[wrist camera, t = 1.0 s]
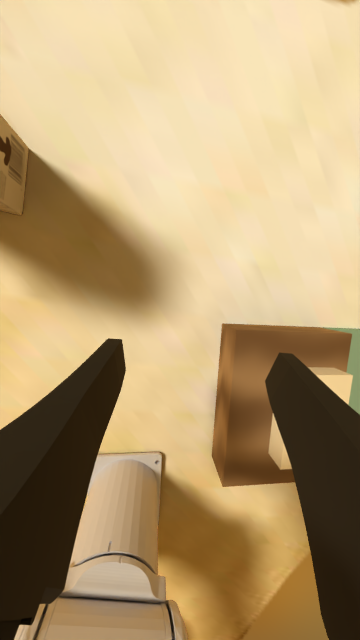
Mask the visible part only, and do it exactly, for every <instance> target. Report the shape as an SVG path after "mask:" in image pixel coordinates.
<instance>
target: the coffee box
mask: <svg viewBox="0 0 360 640" xmlns="http://www.w3.org/2000/svg"><path fill="white" fill-rule="evenodd" d="M28 152H29V149H28V147H27V146H26V144H25V143H24V142H23V141H22V139H21V138H20V137H19V136H18V135H17V134H16V132H15V131H14V130H13V129H12V128H11V126H10V125H9V124H8V123H7V122H6V120H5V119H4V118H3V117H2V116H1V114H0V211H4V212H9V213H13V214H17V215H22V212H23V203H24V193H25V183H26V173H27V162H28Z"/></svg>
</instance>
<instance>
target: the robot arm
mask: <svg viewBox="0 0 360 640" xmlns="http://www.w3.org/2000/svg"><path fill="white" fill-rule="evenodd" d="M125 371H126V367H125V360H124V352H123V344H122V340H121V339H107V340H106V341H105V342H104V343H103V344H102V345H101V346H100V347H99V348H98V349H97V350H96V351H95V352H94V353H93V354H92V355H91V356H90V357H89V358H88V359H87V360H86V361H85V362H84V363H83V364H82V365H81V366H80V367H79V368H77V369H76V370H75V371H74V372H73V373H72V374H71V375H70V376H69V377H68V378H67V379H65V380H64V381H63V382H62V383H61V384H60V385H58V386H57V387H56V388H55V389H54V390H53V391H51V392H50V393H49V394H48V395H47V396H45V397H44V398H43V399H42V400H40V401H39V402H38V403H37V404H35V405H34V406H33V407H31V408H30V409H29V410H27V411H26V412H25V413H23V414H22V415H21V416H19V417H18V418H17V419H15V420H14V421H12V422H11V423H10V424H8V425H7V426H5V427H4V428H2V429H1V430H0V640H188V636H187V631H186V627H185V623H184V621H183V618H182V616H181V614H180V611H179V608H178V606H177V604H176V602H175V601H173V600H166V583H165V577H163V576H159V575H158V525H159V509H160V488H161V468H162V454H161V453H160V452H147V453H123V454H99V455H98V451H99V448H100V445H101V442H102V439H103V437H104V434H105V431H106V429H107V426H108V423H109V421H110V418H111V415H112V413H113V410H114V407H115V405H116V402H117V399H118V396H119V394H120V391H121V387H122V383H123V379H124V375H125ZM265 384H266V389H267V394H268V398H269V402H270V405H271V408H272V411H273V414H274V417H275V420H276V423H277V426H278V429H279V431H280V434H281V437H282V440H283V443H284V445H285V448H286V451H287V454H288V457H289V460H290V464H291V467H292V471H293V475H294V479H295V483H296V487H297V491H298V495H299V499H300V503H301V508H302V512H303V516H304V521H305V526H306V531H307V536H308V541H309V546H310V550H311V555H312V561H313V567H314V573H315V579H316V584H317V590H318V596H319V603H320V610H321V615H322V619H323V622H324V626H325V629H326V632H327V636H328V638H329V640H360V414H358V413H357V412H356V411H355V410H354V409H353V408H351V407H350V406H349V405H348V404H347V403H346V402H345V401H343V400H342V399H341V398H340V397H339V396H338V395H337V394H336V393H334V392H333V391H332V390H331V389H330V388H329V387H328V386H327V385H326V384H325V383H324V382H323V381H322V380H320V379H319V378H318V377H317V376H316V375H315V374H314V373H313V372H312V371H311V370H310V369H309V368H308V367H307V366H306V365H305V364H304V363H302V362H301V361H300V360H299V359H298V358H297V357H296V356H295V355H294V354H292V353H280V352H279V354H278V356H277V358H276V360H275V362H274V364H273V366H272V368H271V370H270V372H269V374H268V376H267V378H266V380H265ZM157 460H158V462H156V461H157ZM87 492H88V498H87V501H86V504H85V507H84V503H85V499H86V496H87ZM83 507H84V510H83ZM82 511H83V513H82ZM81 515H82V516H81Z"/></svg>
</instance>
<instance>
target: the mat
mask: <svg viewBox="0 0 360 640" xmlns="http://www.w3.org/2000/svg"><path fill="white" fill-rule="evenodd" d="M325 329H330V330H336V331H341V332H346V333H351V334H352V339H351V346H350V352H349V359H348V365H347V372H346V373H348V374H351V375H353V379H352V385H351V392H350V398H349V404H348V405H349V406H350V407H351V408H353V409H354V410H355V411H356V412H357V413H358V414H360V329H346V328H325Z"/></svg>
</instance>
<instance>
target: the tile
mask: <svg viewBox="0 0 360 640" xmlns="http://www.w3.org/2000/svg"><path fill="white" fill-rule="evenodd" d="M308 368H309V369H310V370H311V371H312V372H313V373H314V374H315V375H316V376H317V377H318V378H319V379H320V380H322V381H323V382H324V383H325V384H326V385H327V386H328V387H329V388H330V389H331V390H332V391H333V392H334V393H336V394H337V395H338V396H339V397H340V398H341V399H342V400H343V401H345V402H346V403H347V404H349V398H350V392H351V385H352V379H353V375H351V374H348V373H346V372H343V371H341V370H338V369H336V368H318V367H308ZM268 453H269V454H270V456H271V457H272V459H273V460H274V461H275V463H276V464H277V466H278V467H279V468H280V470H282V469H292V467H291V464H290V460H289V457H288V454H287V451H286V448H285V445H284V443H283V440H282V437H281V434H280V431H279V429H278V426H277V423H276V420H275V417H274V414H273V416H272V425H271V434H270V443H269V452H268Z"/></svg>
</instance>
